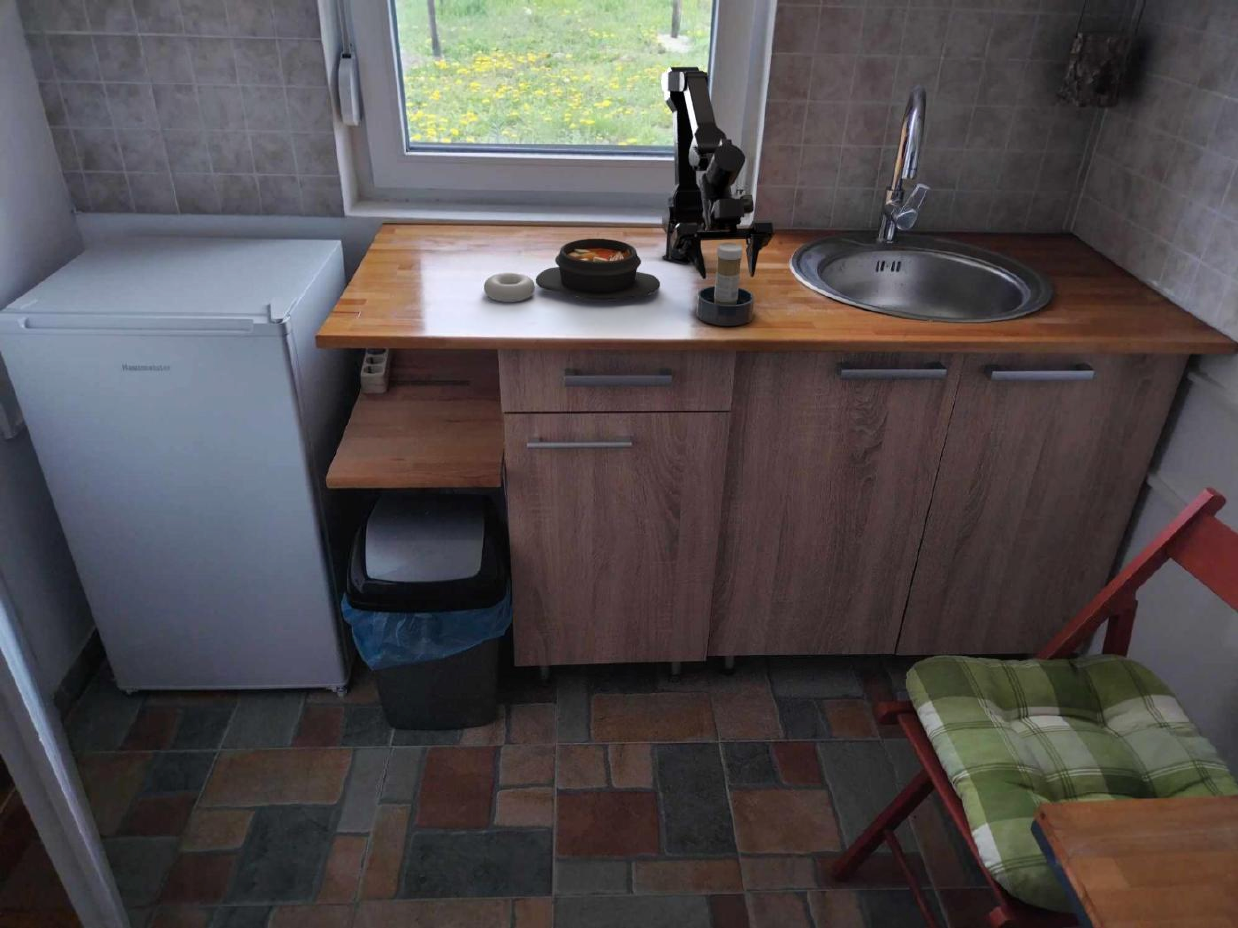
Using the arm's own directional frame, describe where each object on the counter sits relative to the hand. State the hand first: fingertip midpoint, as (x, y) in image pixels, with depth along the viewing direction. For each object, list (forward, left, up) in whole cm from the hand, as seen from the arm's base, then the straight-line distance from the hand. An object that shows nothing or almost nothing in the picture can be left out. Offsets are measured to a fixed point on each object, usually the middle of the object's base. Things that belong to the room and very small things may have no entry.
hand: (728, 277), depth 170 cm
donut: (-41, -13, -8) cm, 43 cm away
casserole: (-28, -1, -8) cm, 29 cm away
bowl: (-1, +1, -8) cm, 8 cm away
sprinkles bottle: (-1, +1, -8) cm, 8 cm away
